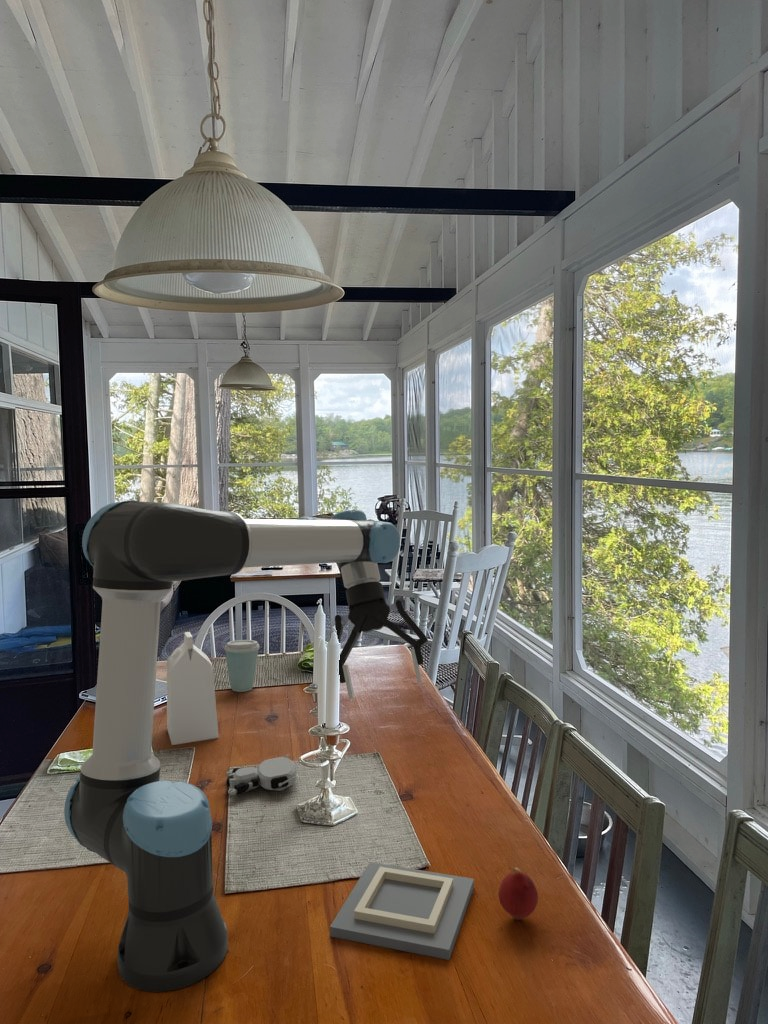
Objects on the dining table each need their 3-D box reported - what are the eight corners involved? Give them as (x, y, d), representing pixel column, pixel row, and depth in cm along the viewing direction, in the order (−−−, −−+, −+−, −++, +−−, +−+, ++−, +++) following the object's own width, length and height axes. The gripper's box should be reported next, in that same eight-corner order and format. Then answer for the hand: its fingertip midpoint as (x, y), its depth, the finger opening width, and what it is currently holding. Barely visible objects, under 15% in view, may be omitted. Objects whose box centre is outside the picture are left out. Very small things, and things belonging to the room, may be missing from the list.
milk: (218, 737, 187) (214, 637, 185) (171, 745, 182) (167, 642, 180) (211, 722, 198) (207, 627, 196) (167, 728, 193) (163, 631, 191)
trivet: (449, 960, 103) (448, 941, 102) (330, 936, 108) (329, 918, 108) (473, 887, 120) (473, 871, 120) (369, 870, 125) (369, 855, 125)
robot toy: (229, 808, 151) (301, 793, 154) (226, 787, 150) (299, 773, 154) (226, 783, 162) (293, 769, 166) (224, 763, 162) (291, 750, 166)
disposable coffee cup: (224, 685, 229) (222, 638, 228) (258, 681, 232) (257, 635, 231) (227, 696, 219) (225, 646, 218) (263, 692, 222) (261, 643, 221)
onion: (532, 906, 115) (532, 856, 114) (541, 929, 109) (541, 878, 108) (495, 907, 114) (495, 858, 114) (503, 931, 109) (502, 879, 108)
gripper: (424, 574, 151) (449, 677, 145) (307, 602, 152) (327, 706, 146) (422, 567, 144) (448, 674, 138) (299, 596, 145) (320, 705, 139)
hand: (386, 691), depth 142 cm, fingers open, 13 cm apart
